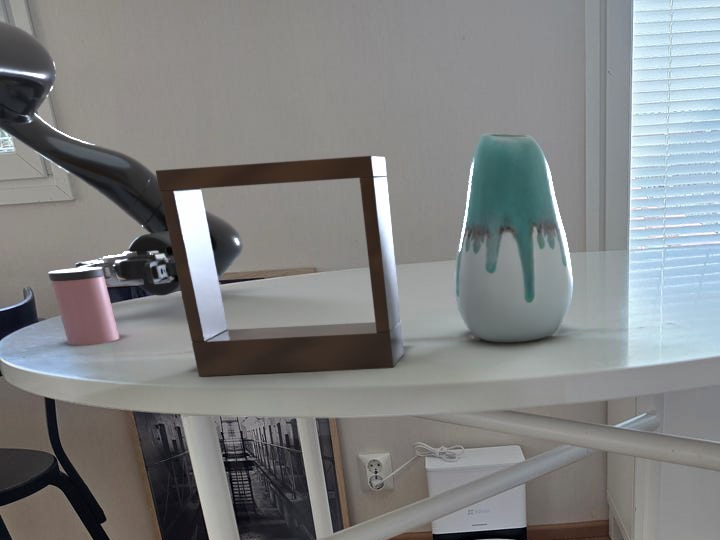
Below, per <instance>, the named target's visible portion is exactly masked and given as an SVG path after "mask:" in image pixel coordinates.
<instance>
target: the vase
mask: <svg viewBox="0 0 720 540" xmlns="http://www.w3.org/2000/svg"><path fill="white" fill-rule="evenodd" d="M468 172H469V173H468V178H467V179H468V181H467V187H466V193H465V194H466V195H465V201H464V210H463V216H462V221H461V226H460V231H459V236H458V237H459V238H458V242H457V249H456V255H455V267H454V287H453V288H454V299H455V304H456V307H457V311H458V313H459V316H460V318H461V320H462V322H463V324H464V325H465V326H466V327H467V329H468V330H469V331H470V332H471V334H473V335H474V336H475V337H476V338H478V339H480V340H483V341H487V342H491V343H524V342H532V341H536V340H537V341H538V340H541V339H543V338H547V337H549V336H550V335H552V334H554V333H555V332H556V331H557V330H558V329H559V328H560V327H561V325H562V324H563V323H564V321H565V319H566V317H567V315H568V313H569V310H570V307H571V304H572V297H573V291H574V286H573V285H574V279H573V270H572V269H573V268H572V262H571V257H570V252H569V251H570V250H569V245H568V241H567V237H566V232H565V229H564V226H563V222H562V219H561V215H560V211H559V207H558V203H557V199H556V195H555V190H554V185H553V181H552V175H551V171H550V167H549V164H548V160H547V159H546V156H545V153H544V151H543V149H542V148H541V146H540V145H539V144H538V142H537V141H536V140H535V138H534V137H532V135H530V134H523V133H522V134H521V133H501V132H499V133H497V132H494V133H493V132H492V133H490V132H489V133H481V135H480V137H479V140H478V141H477V144H476V146H475V149H474V152H473V154H472V158H471V163H470V166H469V171H468Z"/></svg>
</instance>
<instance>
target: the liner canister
mask: <svg viewBox="0 0 720 540" xmlns="http://www.w3.org/2000/svg"><path fill="white" fill-rule="evenodd" d="M47 274H48V277H49V281H50V282H51V287H52V290H53V293H54V298H55V301H56V304H57V308H58V311H59V315H60V318H61V322H62V325H63V329H64V333H65V336H66V340H67V344H68V345H71V346H88V345H97V344H104V343H111V342H114V341H117V340H119V339H120V333H119V330H118V326H117V322H116V319H115V314H114V310H113V306H112V303H111V299H110V294H109V291H108V286H107V283H106V282H105V278H104V272H103V268H102V267H86V268H76V267H75V268H64V269H58V270H57V269H56V270H51V271H49V272H48V273H47Z"/></svg>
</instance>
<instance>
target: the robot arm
mask: <svg viewBox="0 0 720 540" xmlns="http://www.w3.org/2000/svg"><path fill="white" fill-rule="evenodd" d="M53 59H54V58H53V57H52V55H51V53H50V52H49V50H48V49H47V48H46V47H45V46H44V45H43V43H42V42H40V40H38V39H37V38H36V37H34V35H32V34H31V33H29V32H28V31H26V30H25V29H22V28H21V27H19V26H17V25H15V24H12V23H10V22H7V21H2V20H0V130H1V131H3V132H4V133H6V134H7V135H9V136H10V137H12V138H14V139H15V140H17V141H19V143H21V144H23V145H25V146H27V148H30V149H31V150H33V151H34V152H35V153H37V154H39V155H40V156H42V157H43V158H45V159H46V160H47V161H49V162H51V163H52V164H54V165H56V166H58V167H59V168H61V169H63V170H64V171H66V172H67V173H68V174H71V175H72V176H74V177H76V178H77V179H78V180H80V181H82V182H83V183H85V184H86V185H88V186H89V187H90V188H92V189H93V190H95V191H97V192H98V193H99V194H100V195H102V196H104V198H106V199H107V200H108V201H110V202H112V204H114V205H115V206H116V207H117V208H119V209H120V210H121V211H122V212H123V213H125V215H127V216H128V217H130V218H131V219H132V220H133V221H134V222H136V223H137V224H138V225H139V226H140V227H141V228H143V229H144V230H146V231H147V232H148V233H147V234H142V235H139V236H138V237H136V238H135V239H134V240H133V241H132V242H131V243H130V245H129V247H128V250H127V251H124V252H123V253H122V254H117V255H108V256H103V257H99V258H97V259H93V260H88V261H78V262H77V263H75V268H86V267H102V268H103V272H104V278H105V282H106V284H108V285H109V286H111V287H118V286H127V285H131V286H138V287H139V288H140V289H141V290H143V291H144V292H146V293H148V294H150V295H153V296H159V297H160V296H168V295H171V294H173V293H176V292H181V289H180V284H179V279H178V274H177V270H176V265H175V260H174V256H173V251H172V246H171V241H170V237H169V232H168V227H167V222H166V218H165V213H164V208H163V204H162V199H161V194H160V190H159V185H158V180H157V176H156V173H154V172H153V171H152V170H151V169H150V168H148V167H147V166H146V165H145V164H143V163H142V162H140V160H138V159H136V158H134V157H132V156H130V155H129V154H126V153H123V152H121V151H118V150H115V149H111V148H109V147H105V146H100V145H96V144H93V143H90V142H86V141H82V140H80V139H77V138H74V137H71V136H69V135H67V134H65V133H63V132H61V131H59V130H57V129H56V128H54V127H52V126H51V125H50V124H49V123H47V122H46V121H44V120H43V119H42V118H41V117H40V116H38V114H36V113H37V112H38V111H39V109H40V107H42V104H44V101H45V100H46V98H47V97H48V96H49V94H50V92H51V91H52V89H53V87H54V84H55V81H56V76H57V71H56V70H57V69H56V66H55V61H54V60H53ZM205 213H206V218H207V224H208V229H209V234H210V239H211V245H212V250H213V255H214V260H215V266H216V271H217V276H218V281H219V280H220V279H221V278H222V276H224V275H225V273H226V272H227V270H229V268H230V267H231V266H233V264H234V263H235V261H236V260H237V259H238V258H239V256H240V255H241V254H242V252H243V246H244V245H243V241H242V240H243V239H242V237H241V235H240V233H239V232H238V230H237V229H236V228H235V227H234V226H233V225H232V224H231V223H230V222H229V221H227V220H226V219H224V218H222V217H220V216H218V215H217V214H215V213H212V212H211V211H209V210H207V209H205ZM118 278H119V279H118Z"/></svg>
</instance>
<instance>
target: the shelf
mask: <svg viewBox="0 0 720 540" xmlns="http://www.w3.org/2000/svg"><path fill="white" fill-rule="evenodd" d="M155 175H156V176H157V180H158V185H159V190H160V194H161V199H162V204H163V208H164V213H165V218H166V222H167V227H168V232H169V237H170V241H171V246H172V251H173V256H174V260H175V265H176V270H177V274H178V279H179V284H180V289H181V290H180V294H181V297H182V302H183V307H184V311H185V312H184V313H185V316H186V321H187V325H188V326H187V327H188V330H189V335H190V341H191V346H192V350H193V355H194V359H195V364H196V370H197V375H198V377H219V376H221V377H222V376H237V375H238V376H239V375H241V376H242V375H260V374H261V375H262V374H263V375H264V374H281V373H282V374H284V373H285V374H286V373H303V372H304V373H305V372H323V371H324V372H325V371H346V370H347V371H348V370H365V369H366V370H368V369H369V370H371V369H386V368H387V369H388V368H389V369H390V368H391V369H392V368H394V367H395V366H396V364H397V363H398V362H399V360H400V359H401V358H402V356H403V355H404V354H405V349H404V341H403V340H404V339H403V331H402V322H401V321H402V319H401V311H400V310H401V309H400V298H399V289H398V288H399V287H398V278H397V270H396V260H395V259H396V257H395V248H394V247H395V246H394V237H393V227H392V218H391V216H392V215H391V207H390V197H389V196H390V195H389V187H388V177H387V166H386V157H385V156H384V155H383V156H380V155H360V156H345V157H331V158H318V159H317V158H316V159H315V158H314V159H303V160H302V159H301V160H288V161H287V160H285V161H272V162H257V163H243V164H228V165H227V164H226V165H216V166H215V165H214V166H200V167H199V166H198V167H186V168H171V169H158V170H157V169H156V170H155ZM350 179H352V180H353V179H359V186H360V187H359V188H360V197H361V203H362V204H361V206H362V214H363V223H364V232H365V243H366V250H367V259H368V260H367V261H368V269H369V276H370V286H371V287H370V288H371V295H372V305H373V313H374V314H373V315H374V322H355V323H354V322H352V323H335V324H334V323H333V324H315V325H313V324H311V325H296V326H294V325H293V326H292V325H291V326H276V327H258V328H257V327H256V328H237V329H234V328H233V329H228V324H227V318H226V314H225V309H224V303H223V297H222V292H221V286H220V282H219V280H218V276H217V271H216V266H215V260H214V255H213V250H212V245H211V239H210V234H209V229H208V224H207V218H206V213H205V210H206V208H205V202H204V199H203V193H202V189H214V188H215V189H216V188H229V187H230V188H231V187H247V186H260V185H261V186H263V185H274V184H276V185H277V184H289V183H290V184H291V183H303V182H304V183H306V182H307V183H308V182H319V181H320V182H321V181H334V180H335V181H337V180H350Z"/></svg>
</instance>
